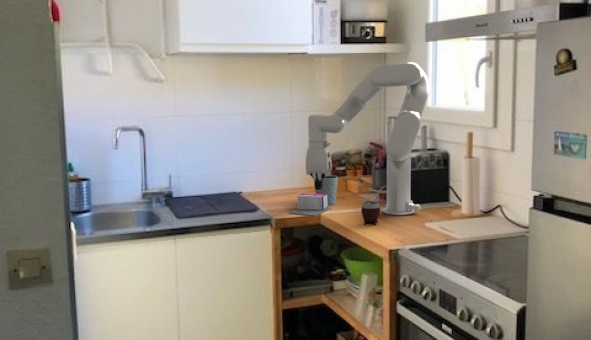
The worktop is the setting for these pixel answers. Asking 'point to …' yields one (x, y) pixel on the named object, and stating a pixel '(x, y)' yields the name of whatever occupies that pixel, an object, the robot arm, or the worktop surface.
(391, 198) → the robot arm
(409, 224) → the worktop surface
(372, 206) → the mate gourd
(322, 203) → the supplement box
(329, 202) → the grey plant pot
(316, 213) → the mat
